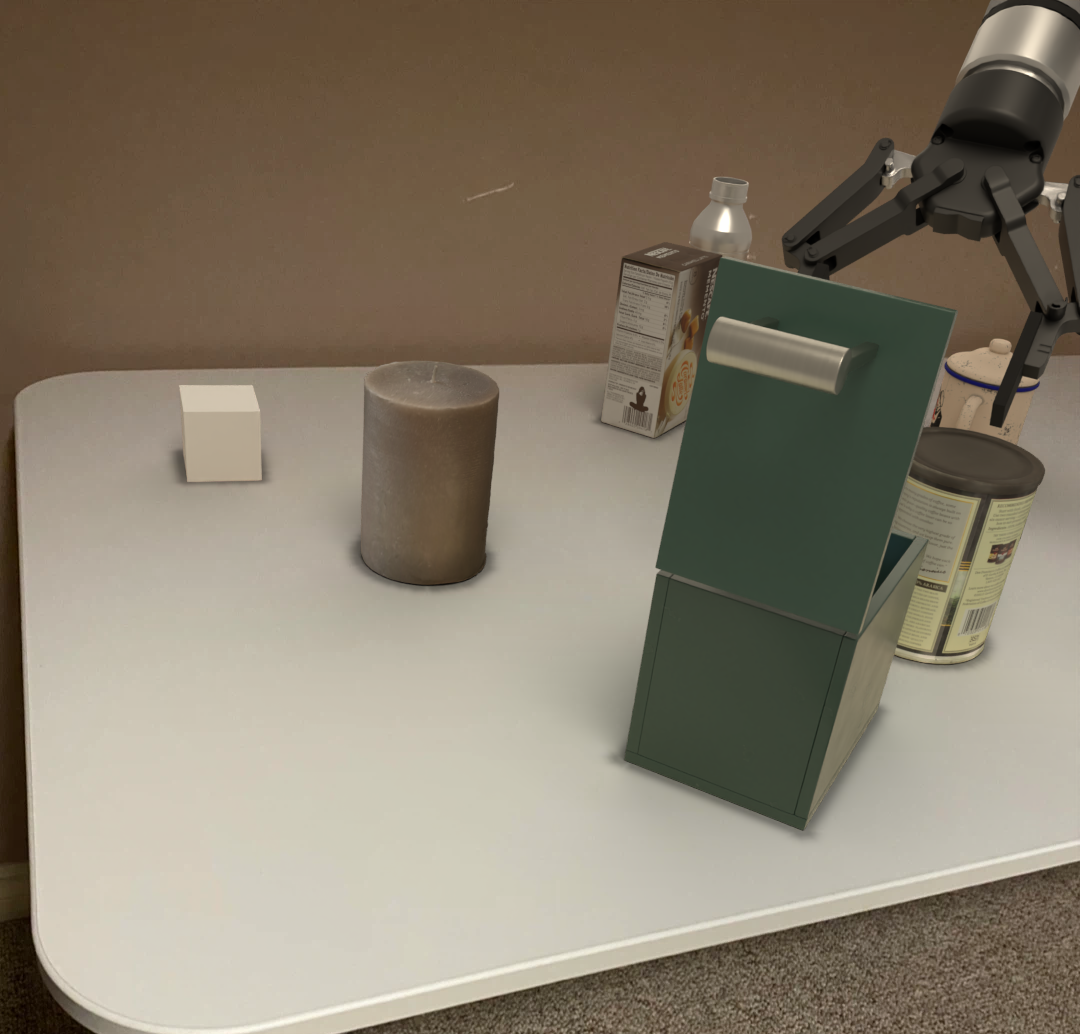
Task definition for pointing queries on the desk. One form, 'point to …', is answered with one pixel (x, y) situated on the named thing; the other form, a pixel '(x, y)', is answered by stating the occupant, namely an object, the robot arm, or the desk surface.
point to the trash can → (763, 689)
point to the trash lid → (800, 439)
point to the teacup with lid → (981, 392)
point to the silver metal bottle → (724, 221)
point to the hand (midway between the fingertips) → (888, 388)
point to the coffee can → (962, 537)
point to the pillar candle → (427, 470)
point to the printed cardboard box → (657, 336)
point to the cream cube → (220, 433)
